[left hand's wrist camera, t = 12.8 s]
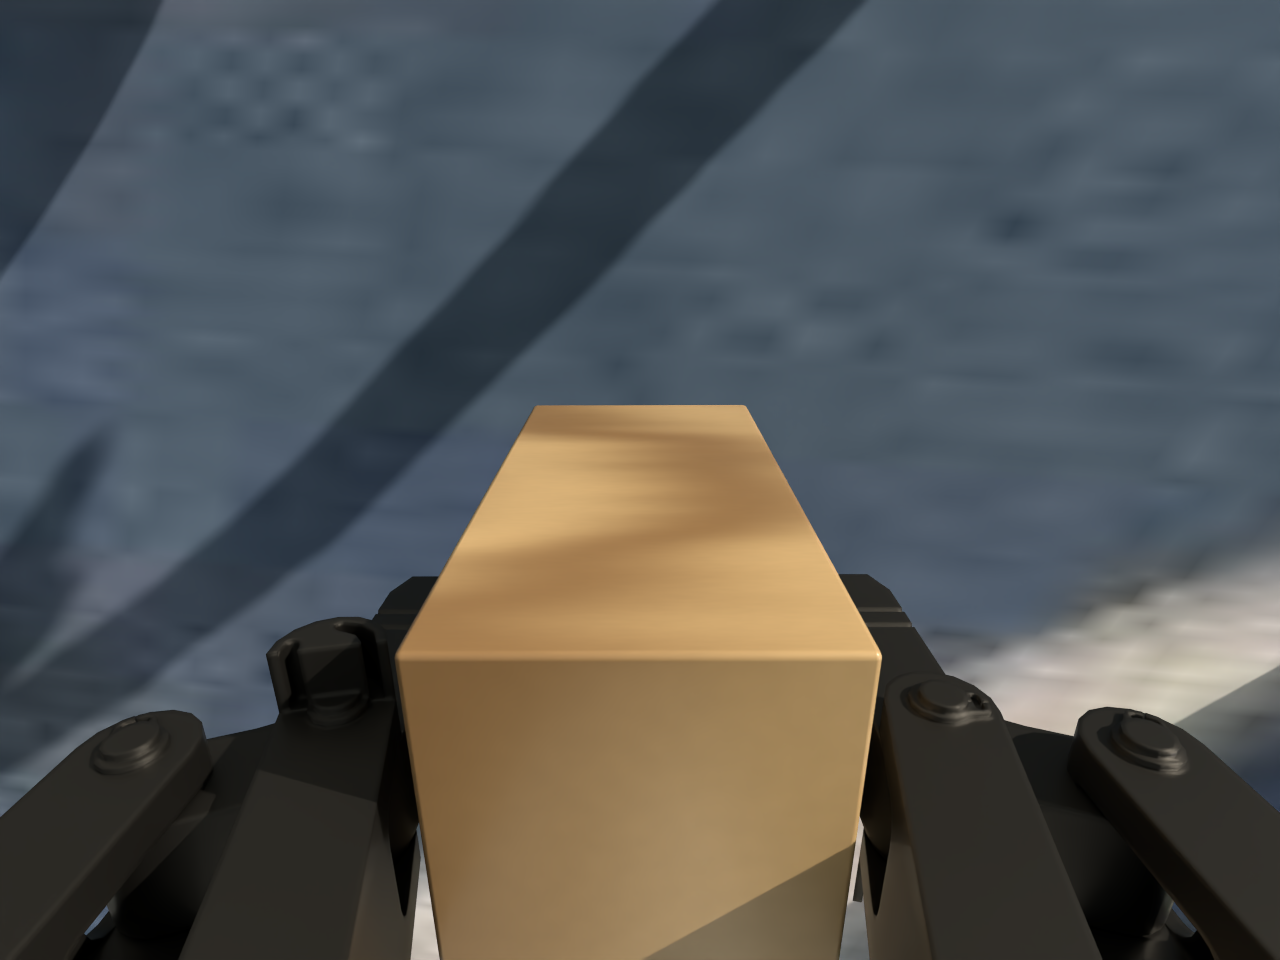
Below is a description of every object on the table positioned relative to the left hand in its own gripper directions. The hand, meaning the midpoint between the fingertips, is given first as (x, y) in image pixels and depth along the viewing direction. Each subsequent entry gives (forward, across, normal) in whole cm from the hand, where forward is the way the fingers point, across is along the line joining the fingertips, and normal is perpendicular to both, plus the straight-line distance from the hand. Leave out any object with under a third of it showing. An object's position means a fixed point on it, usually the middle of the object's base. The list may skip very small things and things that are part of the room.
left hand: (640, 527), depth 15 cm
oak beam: (-1, 0, +10) cm, 10 cm away
